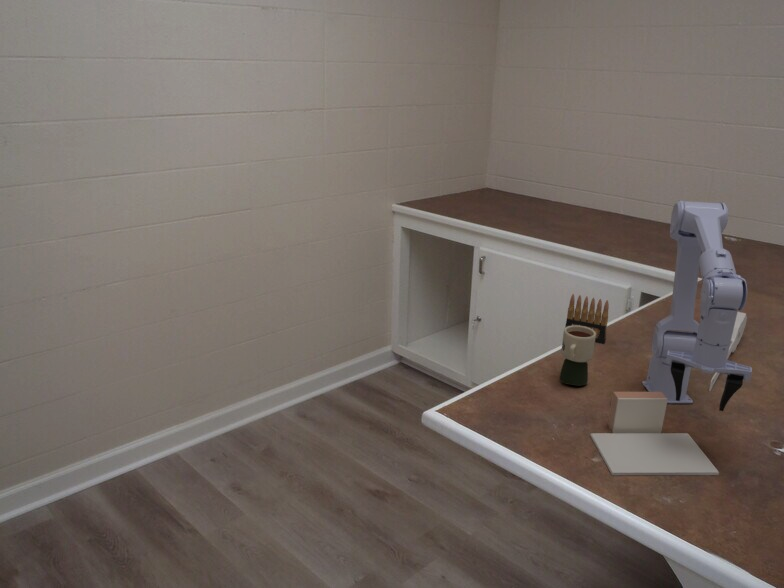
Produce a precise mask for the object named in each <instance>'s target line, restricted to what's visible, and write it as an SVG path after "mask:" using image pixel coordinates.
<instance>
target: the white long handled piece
mask: <svg viewBox="0 0 784 588" xmlns="http://www.w3.org/2000/svg"><path fill="white" fill-rule="evenodd" d="M747 320H748V316H747V313H746V312H742V311H741V312H740V311H737V316H736V321H735V325H734V329H733V334H732V338H731V342H730V347H729V351H728V356H727V360H729V359H728V358H729V357H730V356H731V353H732V354H734V352H736V349H737V347H738V345H739V344H740V342H741V339H742V336H743V333H744V331H745V329H746V324H747ZM720 374H721V373H717V372H714V374H713V376H712V378H711V380H710V384H709V388H708V392H711V390H712V389H713V387H714V385H715V384H716V381H717V380H718V377H719V376H720Z"/></svg>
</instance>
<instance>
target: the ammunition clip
mask: <svg viewBox="0 0 784 588" xmlns="http://www.w3.org/2000/svg"><path fill="white" fill-rule="evenodd" d="M575 301H576V305H575ZM583 301H584V302H583V303H582V296H581V294H580V295H578V298H577V300H575V294H574V293H572V294H571V297H570V300H569V306H568V308H567V317H566V321H565V327H568V326H573V325H576V326H585V327H588V328H591V329H592V330H594V331H595V332H596V337H595V343H596V344H601V345H605V344H606V340H607V329H608V320H609V308H610V307H609V305H610V304H609V300H606V301H605V303H604V306H603V305H602V299H601V298H599V300H598V302H597V306H596V300H595V297H592V298H591V301H590V305H589V298H588V296H585V298H584V300H583ZM582 304H583V305H582ZM602 306H603V307H602ZM595 307H596V308H595ZM602 308H603V310H602ZM588 309H589V310H588ZM565 327H564V328H565Z"/></svg>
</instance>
